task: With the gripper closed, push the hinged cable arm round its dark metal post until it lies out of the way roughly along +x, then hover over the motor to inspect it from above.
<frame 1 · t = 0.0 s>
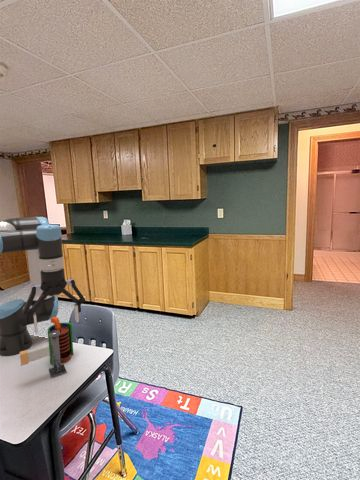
hand: (57, 326, 95), 28 cm above the table, fingers open, 13 cm apart
motor: (61, 359, 122), on the table
post: (57, 371, 113), on the table
cable arm: (35, 354, 107), point 11 cm above the table, hinge at 0.0°
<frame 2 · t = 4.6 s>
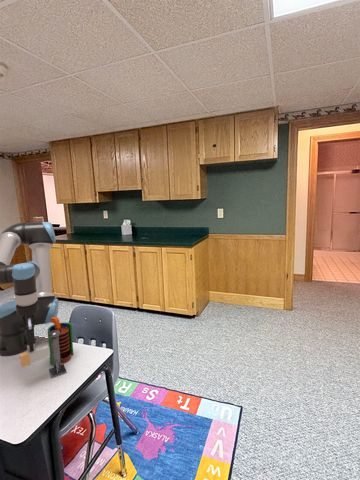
hand: (32, 357, 107), 10 cm above the table, fingers closed
cable arm: (35, 355, 106), point 11 cm above the table, hinge at 7.0°, touching gripper
everything else where it was.
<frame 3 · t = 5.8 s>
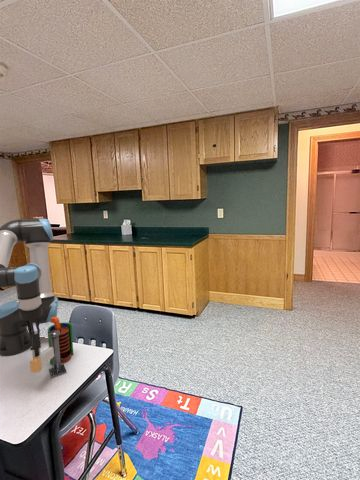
hand: (37, 362, 104), 10 cm above the table, fingers closed
cable arm: (42, 358, 103), point 11 cm above the table, hinge at 44.5°, touching gripper
everything else where it was.
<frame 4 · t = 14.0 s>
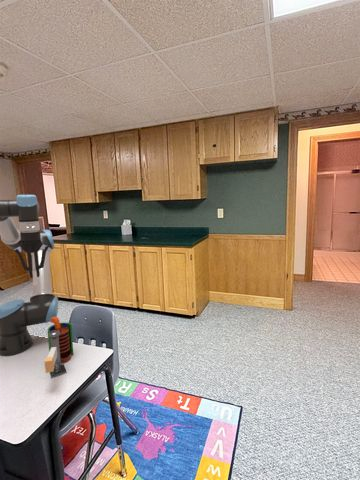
hand: (35, 284, 115), 36 cm above the table, fingers closed
cable arm: (51, 358, 104), point 11 cm above the table, hinge at 70.4°
everything else where it was.
at the end: cable arm at +70° (first picture: +0°); motor moved 0.2 cm from its start; cable arm touching nothing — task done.
